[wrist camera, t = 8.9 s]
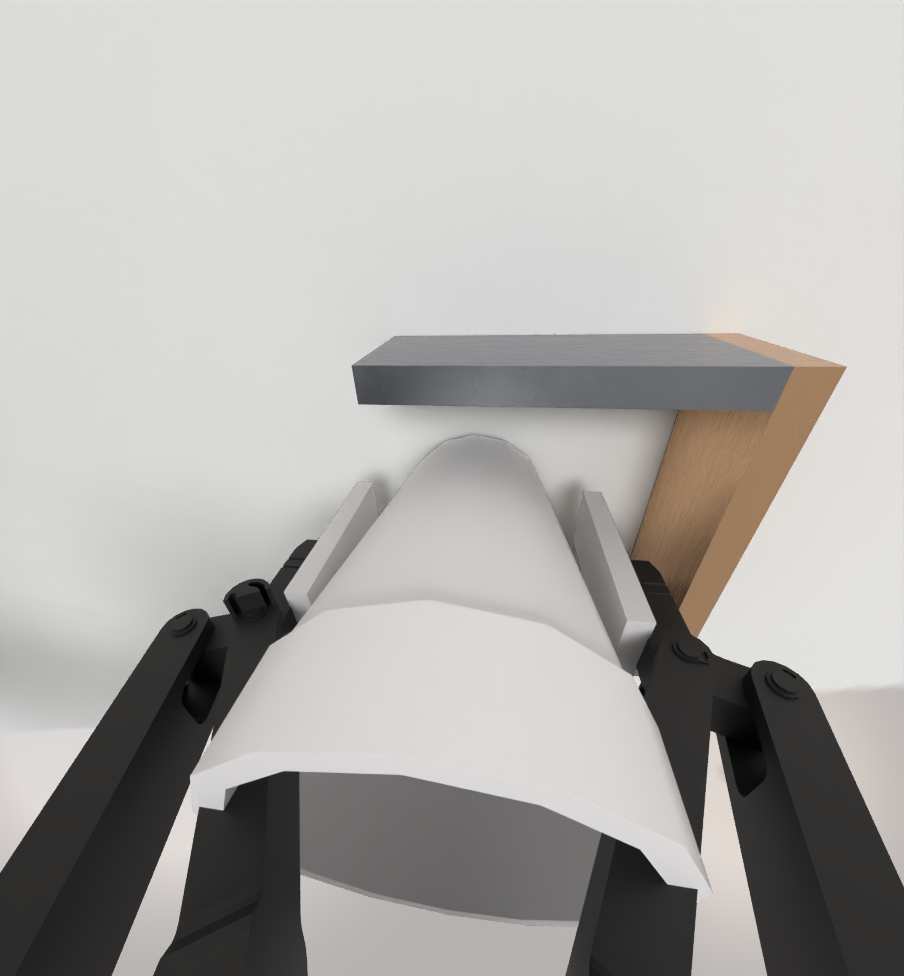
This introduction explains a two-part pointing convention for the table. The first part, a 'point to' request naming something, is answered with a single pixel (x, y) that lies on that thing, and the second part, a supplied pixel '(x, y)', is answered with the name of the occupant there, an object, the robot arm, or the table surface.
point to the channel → (644, 385)
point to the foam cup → (459, 711)
